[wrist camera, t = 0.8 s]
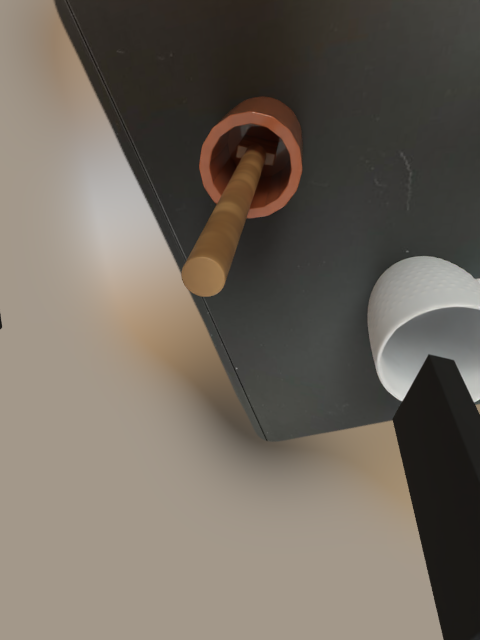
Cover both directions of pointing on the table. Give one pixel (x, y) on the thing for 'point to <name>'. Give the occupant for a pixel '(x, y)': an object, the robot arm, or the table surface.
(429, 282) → the mug
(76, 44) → the table surface
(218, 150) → the crock
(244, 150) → the wooden rod
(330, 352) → the table surface
